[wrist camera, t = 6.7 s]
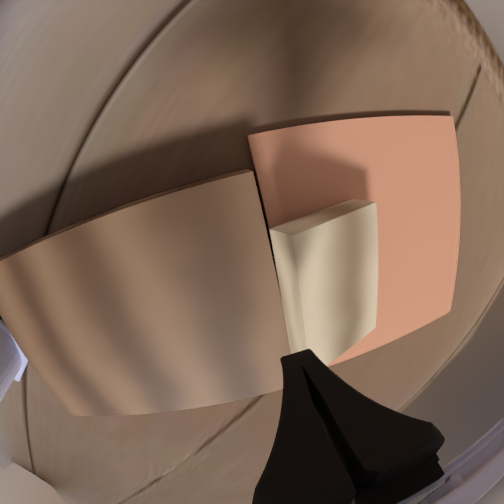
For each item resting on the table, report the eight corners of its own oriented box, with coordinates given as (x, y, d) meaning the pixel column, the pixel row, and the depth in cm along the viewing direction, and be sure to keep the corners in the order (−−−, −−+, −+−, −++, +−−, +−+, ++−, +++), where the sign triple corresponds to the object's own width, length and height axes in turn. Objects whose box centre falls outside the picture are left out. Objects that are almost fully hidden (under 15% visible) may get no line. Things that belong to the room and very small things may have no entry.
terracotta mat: (298, 372, 23) (299, 375, 23) (246, 135, 16) (247, 135, 15) (447, 309, 24) (450, 311, 23) (449, 116, 16) (452, 116, 16)
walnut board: (80, 395, 21) (72, 415, 18) (-1, 258, 15) (-21, 271, 13) (289, 360, 22) (298, 384, 19) (246, 168, 16) (252, 171, 14)
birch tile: (291, 362, 18) (309, 377, 17) (269, 229, 15) (292, 235, 13) (357, 318, 21) (375, 327, 19) (352, 198, 18) (376, 202, 16)
